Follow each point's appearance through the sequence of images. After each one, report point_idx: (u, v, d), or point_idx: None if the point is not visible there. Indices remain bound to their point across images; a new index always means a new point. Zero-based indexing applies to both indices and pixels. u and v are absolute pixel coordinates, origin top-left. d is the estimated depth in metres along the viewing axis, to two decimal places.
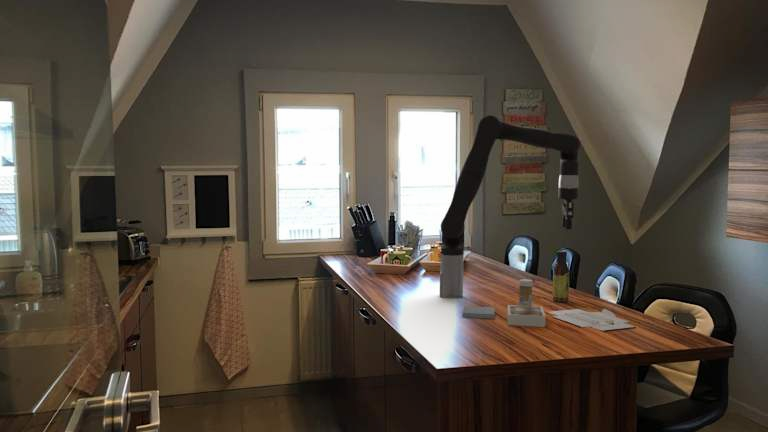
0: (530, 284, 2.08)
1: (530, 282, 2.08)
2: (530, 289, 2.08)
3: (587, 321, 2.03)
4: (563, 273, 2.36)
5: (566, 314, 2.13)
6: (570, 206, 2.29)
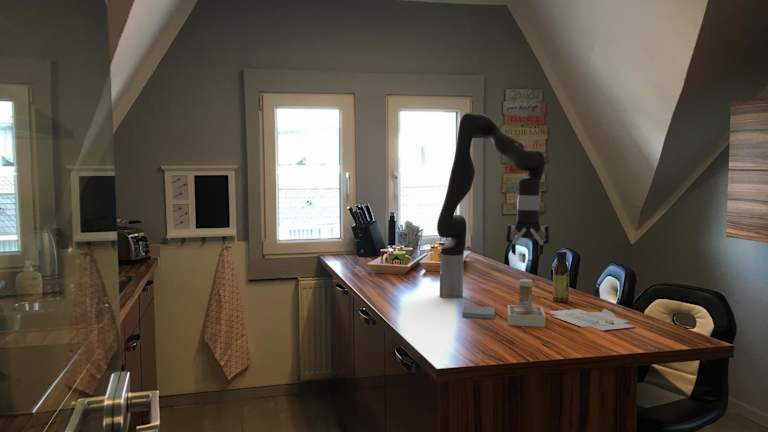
0: (530, 284, 2.08)
1: (530, 282, 2.08)
2: (530, 289, 2.08)
3: (587, 321, 2.03)
4: (563, 273, 2.36)
5: (566, 314, 2.13)
6: None
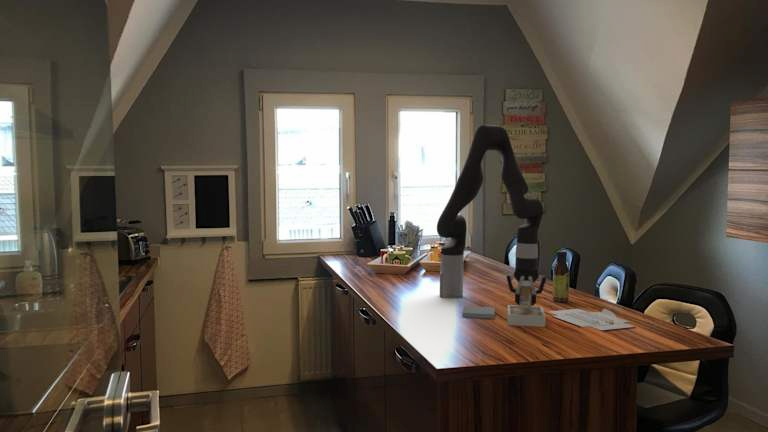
0: (530, 284, 2.08)
1: (530, 282, 2.08)
2: (530, 289, 2.08)
3: (587, 321, 2.03)
4: (563, 273, 2.36)
5: (566, 314, 2.13)
6: None
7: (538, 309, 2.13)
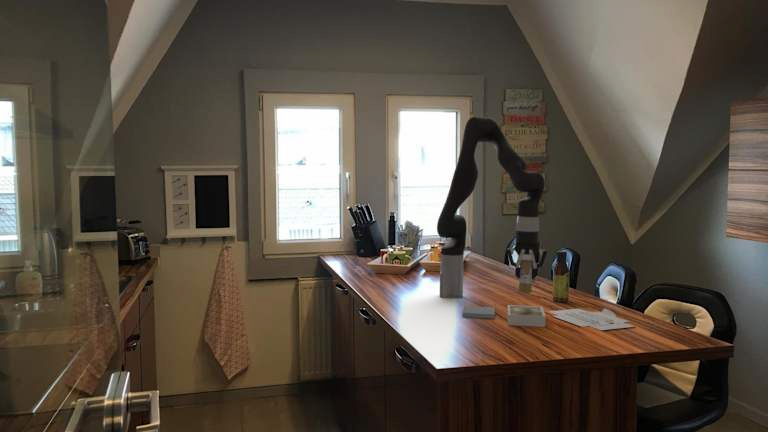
0: None
1: None
2: (530, 263, 2.08)
3: (587, 321, 2.03)
4: (563, 273, 2.36)
5: (566, 314, 2.13)
6: None
7: (538, 309, 2.13)
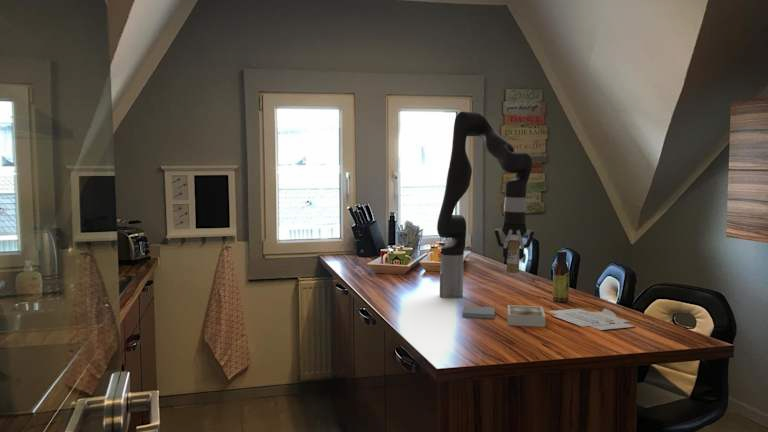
0: (518, 238, 2.08)
1: (518, 236, 2.08)
2: (518, 243, 2.09)
3: (587, 320, 2.04)
4: (563, 273, 2.36)
5: (566, 313, 2.14)
6: None
7: (538, 309, 2.13)
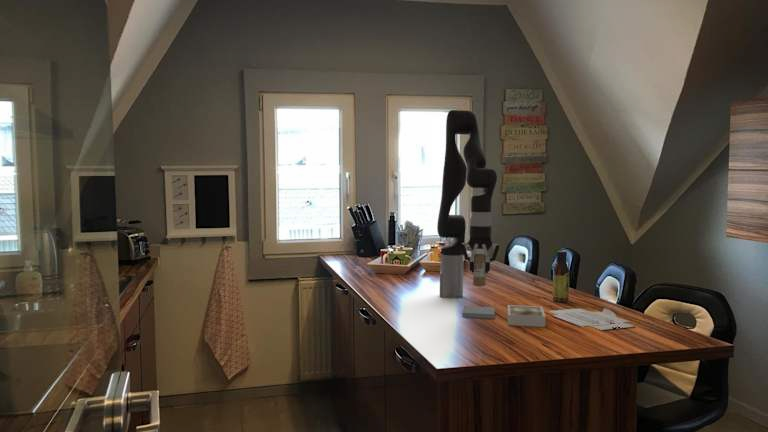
0: None
1: None
2: (484, 257, 2.13)
3: (587, 320, 2.04)
4: (563, 273, 2.36)
5: (566, 313, 2.14)
6: None
7: (538, 309, 2.13)
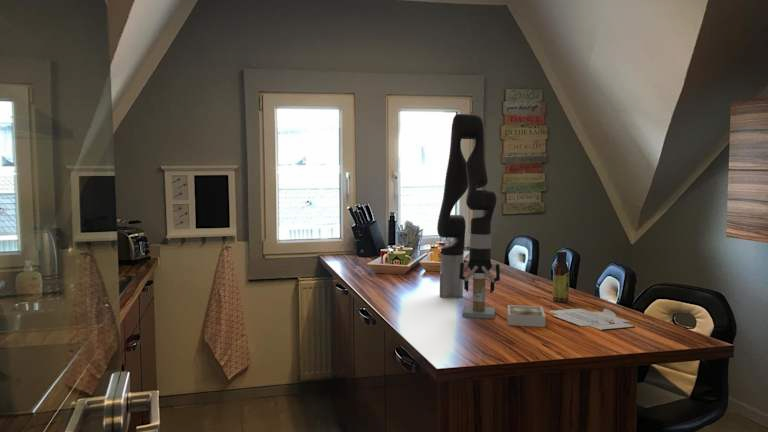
0: (483, 277, 2.13)
1: (483, 275, 2.13)
2: (483, 281, 2.13)
3: (586, 320, 2.04)
4: (563, 273, 2.36)
5: (566, 313, 2.14)
6: None
7: (538, 309, 2.13)
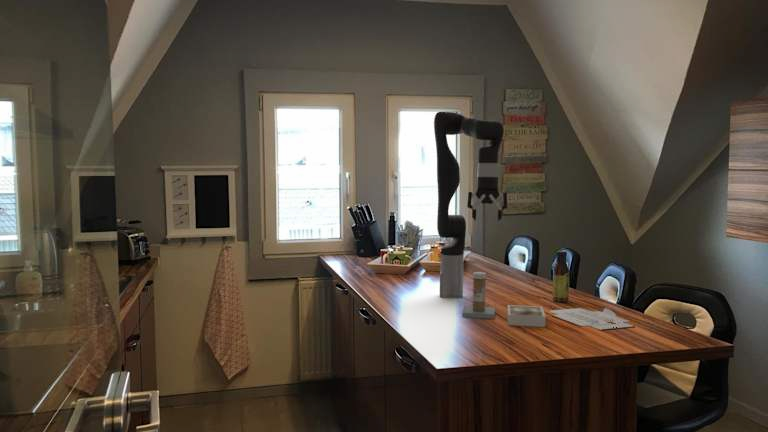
0: (483, 277, 2.13)
1: (483, 275, 2.13)
2: (483, 281, 2.13)
3: (586, 320, 2.04)
4: (563, 273, 2.36)
5: (566, 313, 2.14)
6: None
7: (538, 309, 2.13)
